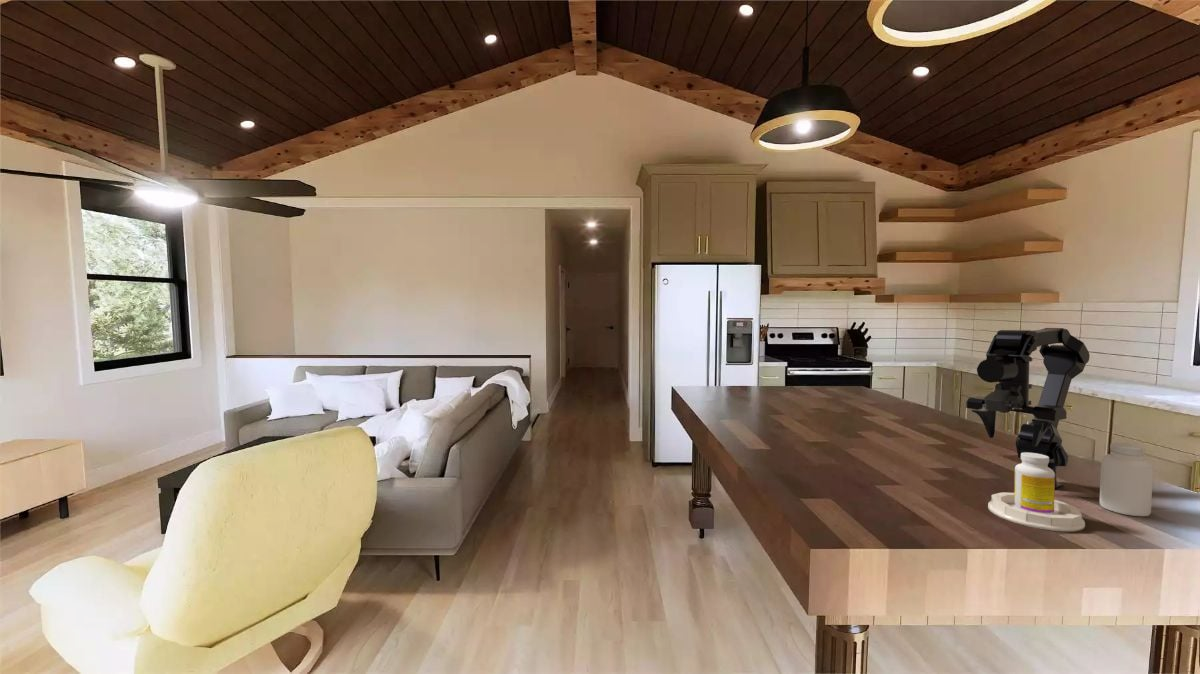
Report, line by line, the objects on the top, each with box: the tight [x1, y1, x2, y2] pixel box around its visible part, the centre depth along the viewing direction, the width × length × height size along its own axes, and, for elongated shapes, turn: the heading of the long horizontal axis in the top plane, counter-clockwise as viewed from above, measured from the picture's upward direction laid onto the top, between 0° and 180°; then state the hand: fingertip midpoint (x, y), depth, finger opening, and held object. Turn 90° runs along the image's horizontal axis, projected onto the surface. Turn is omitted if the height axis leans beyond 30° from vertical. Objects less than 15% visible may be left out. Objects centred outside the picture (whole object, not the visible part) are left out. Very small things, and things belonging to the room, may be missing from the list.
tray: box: [987, 491, 1086, 533], centre depth 107 cm, size 16×16×3 cm
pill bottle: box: [1099, 442, 1154, 517], centre depth 109 cm, size 8×8×15 cm
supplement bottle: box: [1013, 452, 1056, 515], centre depth 107 cm, size 7×7×13 cm
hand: (1012, 441), depth 120 cm, fingers open, 9 cm apart
